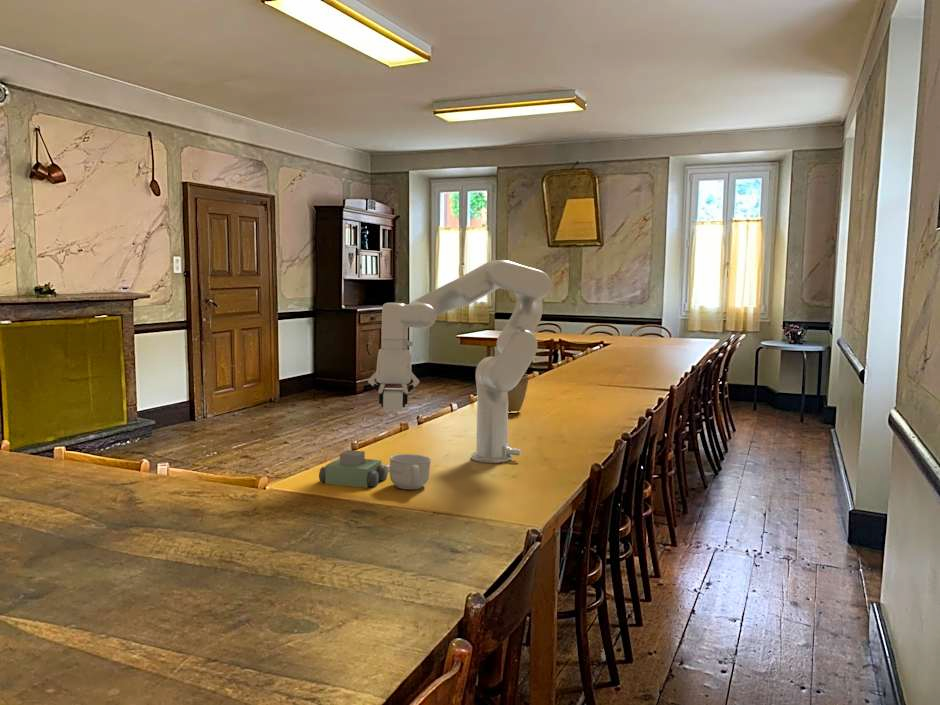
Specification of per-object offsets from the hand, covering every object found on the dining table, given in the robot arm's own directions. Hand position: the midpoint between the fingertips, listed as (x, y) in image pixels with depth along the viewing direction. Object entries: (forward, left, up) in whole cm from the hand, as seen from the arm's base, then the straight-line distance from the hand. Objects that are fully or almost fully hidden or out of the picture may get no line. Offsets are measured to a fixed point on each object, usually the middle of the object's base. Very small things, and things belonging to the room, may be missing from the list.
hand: (393, 406), depth 211 cm
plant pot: (-15, -97, -18) cm, 100 cm away
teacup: (-13, +21, -18) cm, 30 cm away
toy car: (+4, +15, -18) cm, 23 cm away
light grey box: (0, 0, -1) cm, 1 cm away
